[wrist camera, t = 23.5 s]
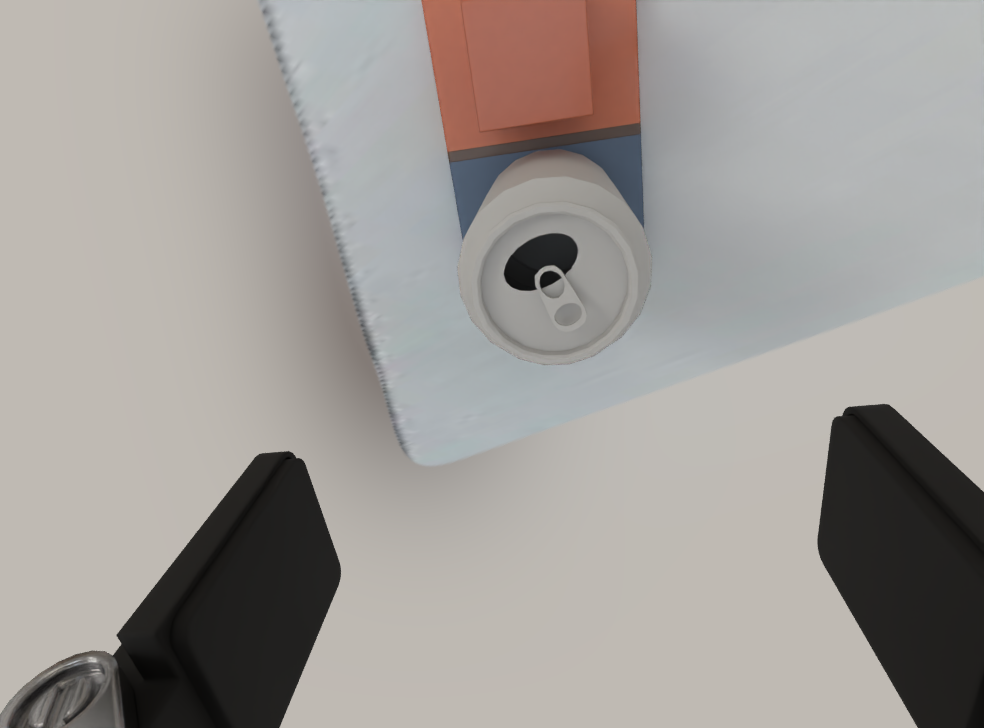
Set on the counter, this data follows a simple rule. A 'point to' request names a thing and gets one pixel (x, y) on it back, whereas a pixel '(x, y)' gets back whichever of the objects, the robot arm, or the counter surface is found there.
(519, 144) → the sorting board
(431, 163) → the counter surface
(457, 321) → the counter surface
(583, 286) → the can
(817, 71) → the counter surface
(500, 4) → the terracotta block
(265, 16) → the counter surface
